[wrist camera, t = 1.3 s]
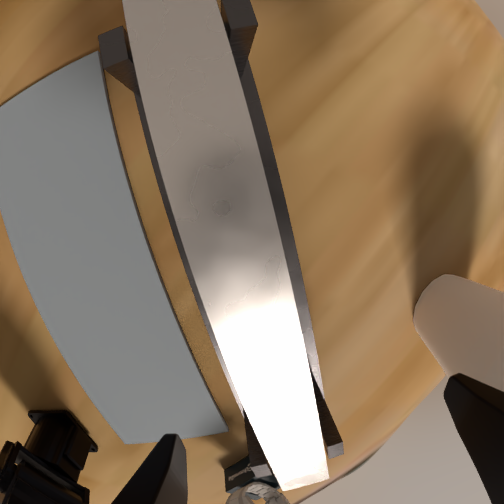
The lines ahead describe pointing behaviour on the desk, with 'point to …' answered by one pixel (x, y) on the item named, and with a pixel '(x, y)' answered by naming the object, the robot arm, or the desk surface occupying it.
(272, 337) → the rail
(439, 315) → the foam cup
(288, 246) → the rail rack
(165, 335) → the mat
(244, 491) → the watch
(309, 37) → the desk surface
